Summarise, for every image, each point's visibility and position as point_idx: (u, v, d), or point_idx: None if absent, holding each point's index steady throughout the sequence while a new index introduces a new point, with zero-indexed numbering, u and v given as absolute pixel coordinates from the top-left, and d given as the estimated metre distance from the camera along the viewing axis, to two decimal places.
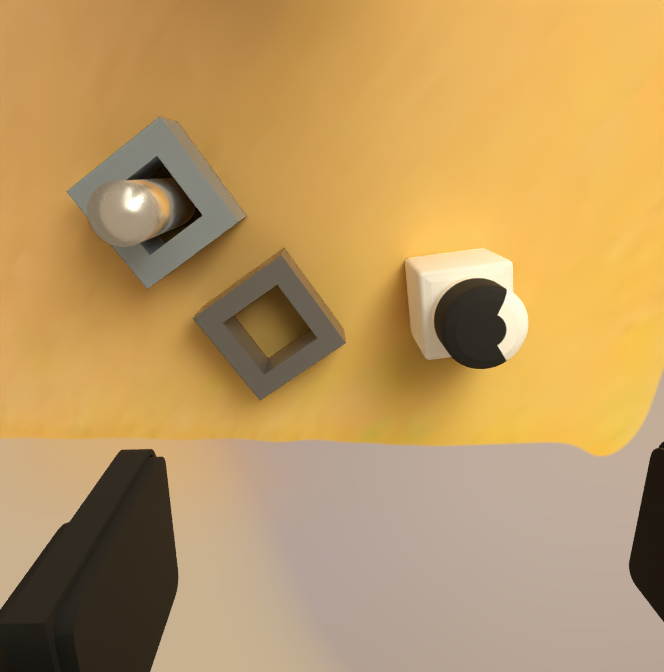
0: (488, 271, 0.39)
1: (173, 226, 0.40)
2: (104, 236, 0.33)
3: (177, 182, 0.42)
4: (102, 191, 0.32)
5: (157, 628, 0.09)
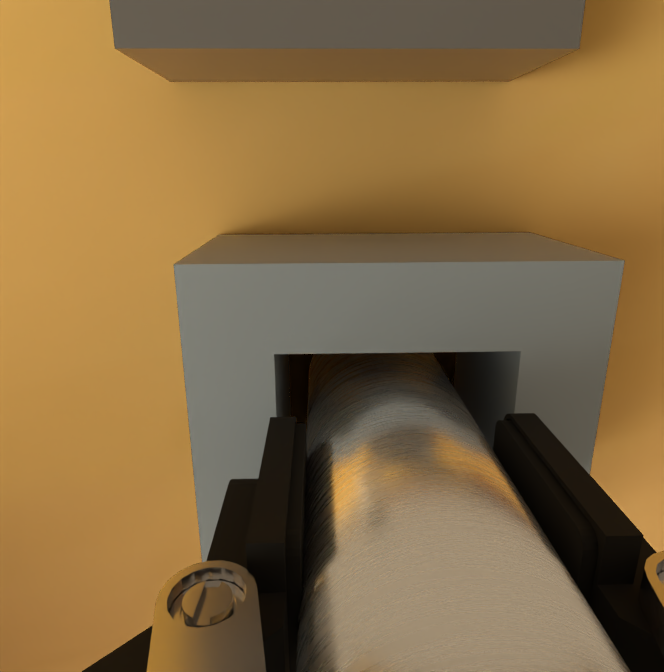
0: None
1: (383, 381, 0.11)
2: None
3: None
4: None
5: None
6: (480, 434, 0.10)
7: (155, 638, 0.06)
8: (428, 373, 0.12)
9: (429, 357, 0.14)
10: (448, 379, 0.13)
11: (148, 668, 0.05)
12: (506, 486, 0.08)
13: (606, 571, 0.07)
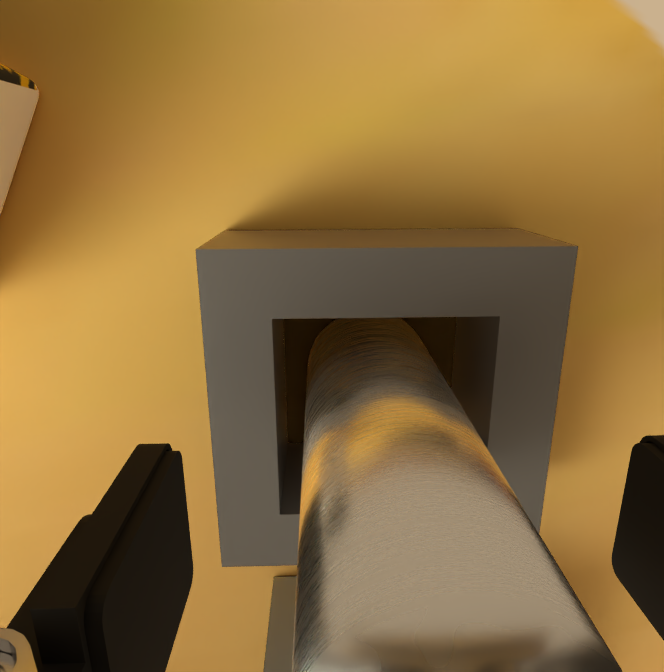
0: None
1: (375, 367, 0.12)
2: None
3: None
4: None
5: (174, 618, 0.09)
6: (463, 414, 0.11)
7: None
8: (417, 360, 0.13)
9: (419, 347, 0.15)
10: (437, 367, 0.14)
11: None
12: (483, 456, 0.09)
13: None
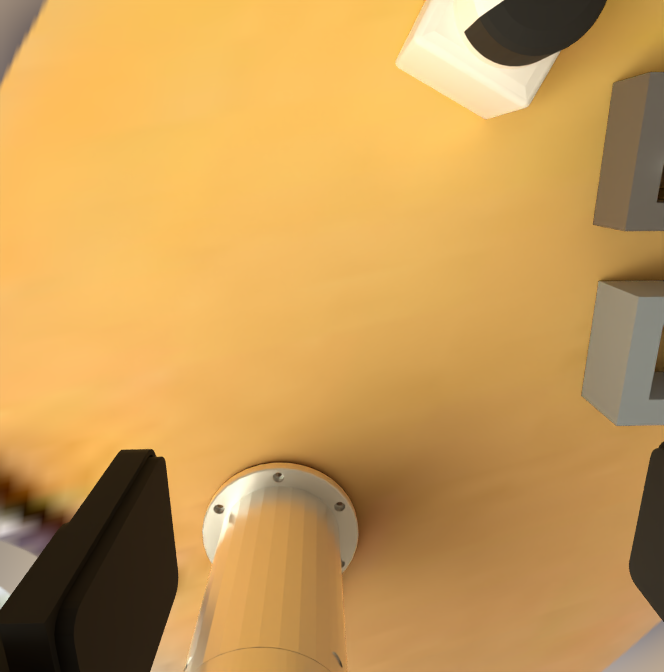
0: (450, 47, 0.27)
1: None
2: None
3: None
4: None
5: (157, 628, 0.09)
6: None
7: None
8: None
9: None
10: None
11: None
12: None
13: None
